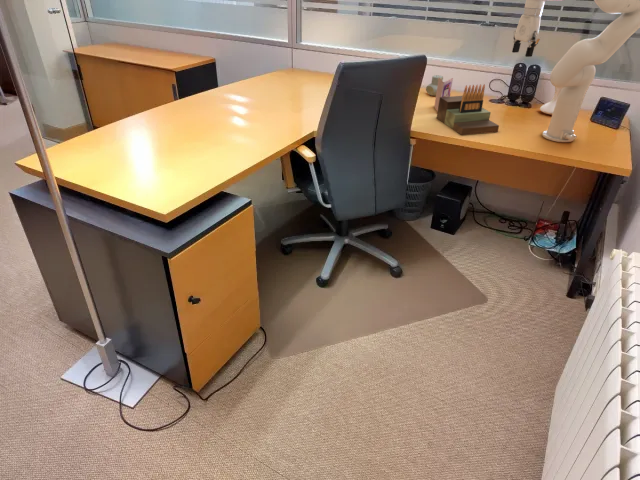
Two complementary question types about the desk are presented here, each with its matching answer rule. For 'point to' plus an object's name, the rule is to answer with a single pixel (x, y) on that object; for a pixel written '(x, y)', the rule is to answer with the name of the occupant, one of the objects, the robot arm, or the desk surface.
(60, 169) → the desk surface
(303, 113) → the desk surface
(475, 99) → the ammunition clip
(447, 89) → the greeting card
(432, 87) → the grey pipe tee fitting
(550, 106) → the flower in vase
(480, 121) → the step shelf
